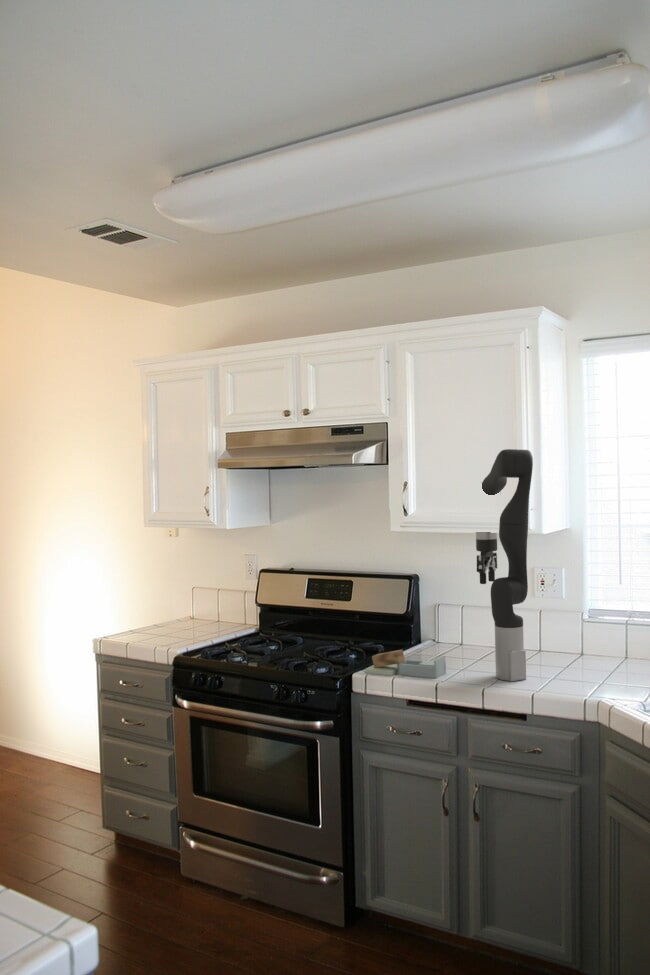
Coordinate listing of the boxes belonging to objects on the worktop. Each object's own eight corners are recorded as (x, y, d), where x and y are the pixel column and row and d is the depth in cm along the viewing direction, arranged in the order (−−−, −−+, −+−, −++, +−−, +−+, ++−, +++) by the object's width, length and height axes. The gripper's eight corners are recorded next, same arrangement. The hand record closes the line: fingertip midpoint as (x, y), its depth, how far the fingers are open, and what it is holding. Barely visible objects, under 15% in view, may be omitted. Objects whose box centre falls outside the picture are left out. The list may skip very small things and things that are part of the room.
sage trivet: (404, 669, 292) (404, 666, 292) (391, 675, 283) (391, 671, 283) (378, 666, 297) (378, 663, 297) (365, 672, 289) (365, 669, 289)
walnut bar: (405, 660, 289) (402, 649, 289) (399, 663, 285) (396, 651, 285) (380, 665, 294) (378, 654, 295) (374, 667, 290) (371, 656, 291)
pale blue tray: (445, 673, 284) (445, 655, 284) (436, 678, 278) (435, 660, 278) (407, 669, 292) (406, 652, 292) (397, 674, 285) (396, 656, 285)
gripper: (489, 539, 295) (490, 585, 295) (503, 536, 307) (504, 580, 307) (469, 539, 299) (470, 584, 299) (483, 536, 311) (484, 580, 311)
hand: (487, 582), depth 303 cm, fingers open, 8 cm apart
